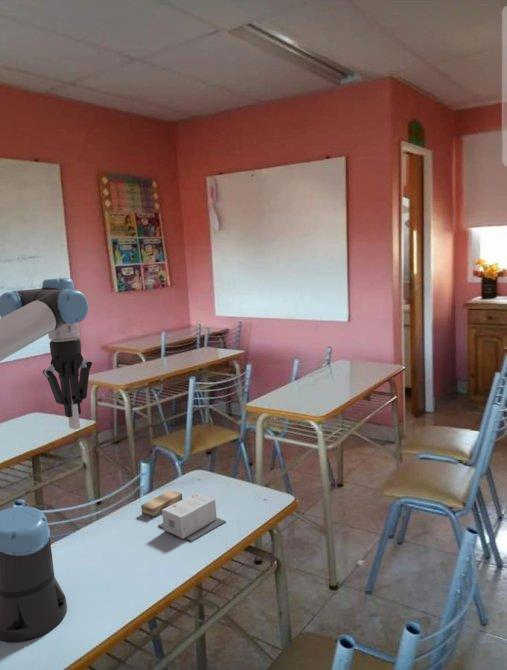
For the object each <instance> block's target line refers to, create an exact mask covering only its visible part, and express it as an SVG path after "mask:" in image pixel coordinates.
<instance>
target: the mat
mask: <svg viewBox="0 0 507 670" xmlns="http://www.w3.org/2000/svg"><path fill="white" fill-rule="evenodd" d="M226 522H227V521H226V520H224V519H221V518H219V517H217V519H216V520H215V521H213V522H211V523H209V524H208V525H206V526H204V527H202V528H201V529H199V530H197V531H196V532H194V533H192V534H190V535H189V536H187V537H185V538H183V540H186V541H189V542H190V543H192V542H195V541H196V540H198V539H199V538H201V537H203V536H205V535H207V534H208V533H210V532H211V531H213V530H215V529H216V528H219V527H220V526H222V525H224V524H225V523H226ZM157 526H158V527H159V528H160V529H162V530H164V525H163V522H162V523H160V524H158V525H157Z"/></svg>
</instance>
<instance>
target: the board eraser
mask: <svg viewBox="0 0 507 670" xmlns="http://www.w3.org/2000/svg"><path fill="white" fill-rule="evenodd" d="M181 500H183V493H180V492H177V491H175V490H171V489H169V490H167V491H166V492H163V494H160V495H158V496H156V497H155V498H152V499H151V500H149V501H146V502H144V503H143V504H141V515H143V516H146V517H148V518H150V519H155V518H157V517H159V516H160V515H162V510H163V509H165V508H167V507H169V506H171V505H173V504H175V503H177V502H179V501H181Z"/></svg>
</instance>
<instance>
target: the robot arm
mask: <svg viewBox="0 0 507 670" xmlns="http://www.w3.org/2000/svg"><path fill="white" fill-rule="evenodd" d="M88 313H89V302H88V299H87V297H86V296H85V294H84V293H83V292H81V290H80V291H79V290H77V289H75V285H74V281H73V279H72V278H70V277H59V278H58V277H57V278H49V279H43V281H42V286H41V288H34V289H22V290H12V291H7V292H3V293H2V294H0V362H1V361H4V360H5V359H7V358H8V357H11V356H13V354H15V353H17V352H19V351H21V350H22V349H24V348H26V347H27V346H29V345H31V344H33V343H35V342H37V340H39V339H41V338H43V337H44V336H47V335H48V339H49V340H50V342H49V352H50V356H51V360H50V366H48V368H46V369H43V370H42V374H43V375H44V376H45V377H46V379H47V381H48V385H49V387H50V389H51V393H52V394H53V397H54V400H55V403H56V404H59V405H62V406H63V409H64V415H65V417H66V418H68V427H69V428H70V429H73V430H78V429H80V428H81V423H80V415H81V413H82V408H81V407H82V406H81V404H82V403H83V400H85V399H86V398H87V397H88V389H89V387H88V386H89V376H90V369H91V368H92V365H93V362H92V361H88V360H85V359H84V356H83V355H82V343H81V339H80V338H79V337H80V336H81V335H80V326H79V323H81V322H82V321H84V319H86V317H87V315H88ZM56 373H57V374H58V378H59V381H60V383H59V382H58V379H57V376H56ZM67 611H68V605H67V598H66V595H65V593H64V591H63V589H62V588H61V585H60V583H59V582H58V581H57V578H56V576H55V571H54V562H53V553H52V544H51V529H50V527H49V523H48V518H47V517H46V514H45V513H44V512H43V511H41V510H40V509H38V508H36V507H33V506H26V505H25V506H22V507H21V506H20V505H19V506H12V507H8V508H5V509H2V508H1V507H0V641H2V642H7V643H9V642H10V643H19V642H25V641H29V640H34V639H36V638H39V637H40V636H43V635H45V634H47V633H48V632H50V631H52V630H53V629H55V628H56V627H57V626H58V625H59V624H60V623H61V622H62V621H63V619H64V618H65V616H66V614H67Z"/></svg>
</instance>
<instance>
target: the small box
mask: <svg viewBox="0 0 507 670" xmlns="http://www.w3.org/2000/svg"><path fill="white" fill-rule="evenodd" d="M216 504H217V503H216V499H215V498H212V497H210V496H208V495H204V494H202V493H198V492H194V493H193V494H191V495H189V496H187V497H185V498H182V500H181V501H179V502H177V503H175V504H173V505H171V506H169V507H167V508H165V509H163V510H162V514H161V515H162V523H163V525H164V529H163V531H165V532H168V533H169V534H172V535H175V536H177V538H180V539H182V540H184V538H185V537H187V536H189V535H190V534H192V533H194V532H196V531H197V530H199V529H201V528H202V527H204V526H206V525H208V524H209V523H211V522H213V521H215V520H216V519H217V518H218V517H217V507H216V506H217V505H216Z"/></svg>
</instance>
